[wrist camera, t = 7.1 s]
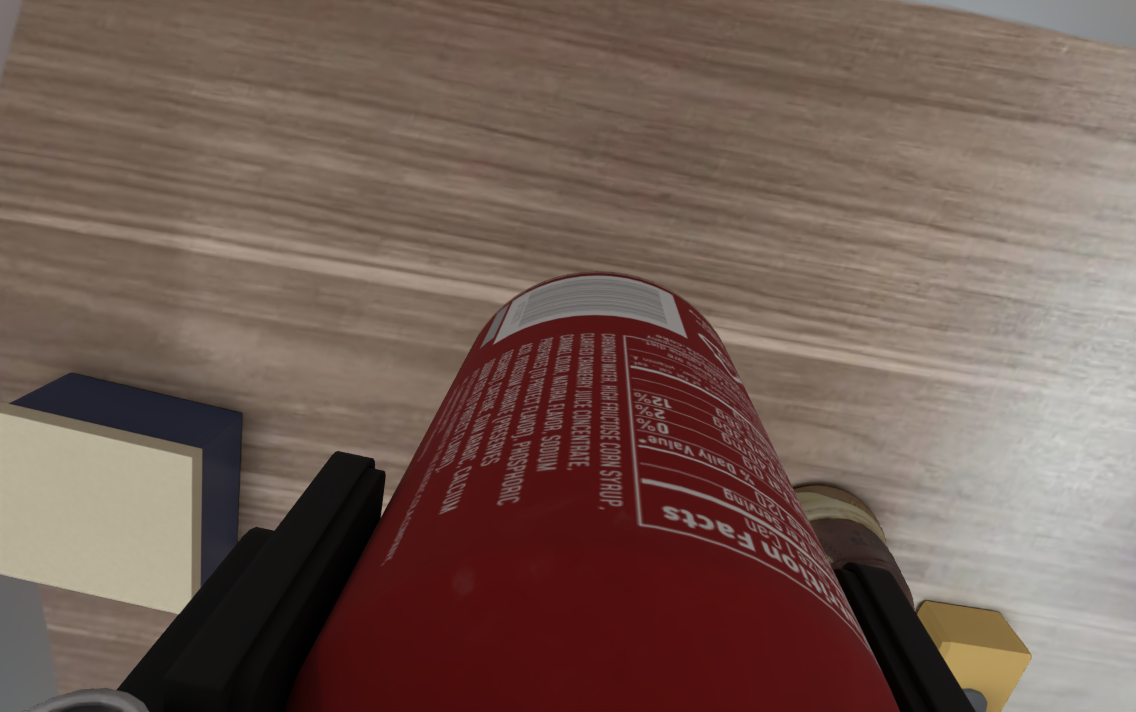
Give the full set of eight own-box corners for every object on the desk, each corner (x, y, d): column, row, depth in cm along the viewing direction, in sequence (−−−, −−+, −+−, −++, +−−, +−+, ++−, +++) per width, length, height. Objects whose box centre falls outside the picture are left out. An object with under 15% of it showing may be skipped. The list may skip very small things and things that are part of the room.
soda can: (485, 239, 15) (132, 656, 4) (763, 291, 15) (1217, 842, 4) (455, 476, 17) (196, 1135, 6) (692, 519, 18) (844, 1239, 6)
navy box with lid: (75, 515, 44) (-1, 574, 39) (63, 365, 40) (-25, 407, 34) (242, 553, 45) (191, 617, 39) (249, 408, 40) (192, 457, 35)
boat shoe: (581, 755, 51) (575, 918, 40) (483, 679, 48) (450, 832, 38) (913, 553, 42) (1013, 699, 31) (814, 446, 39) (887, 567, 29)
